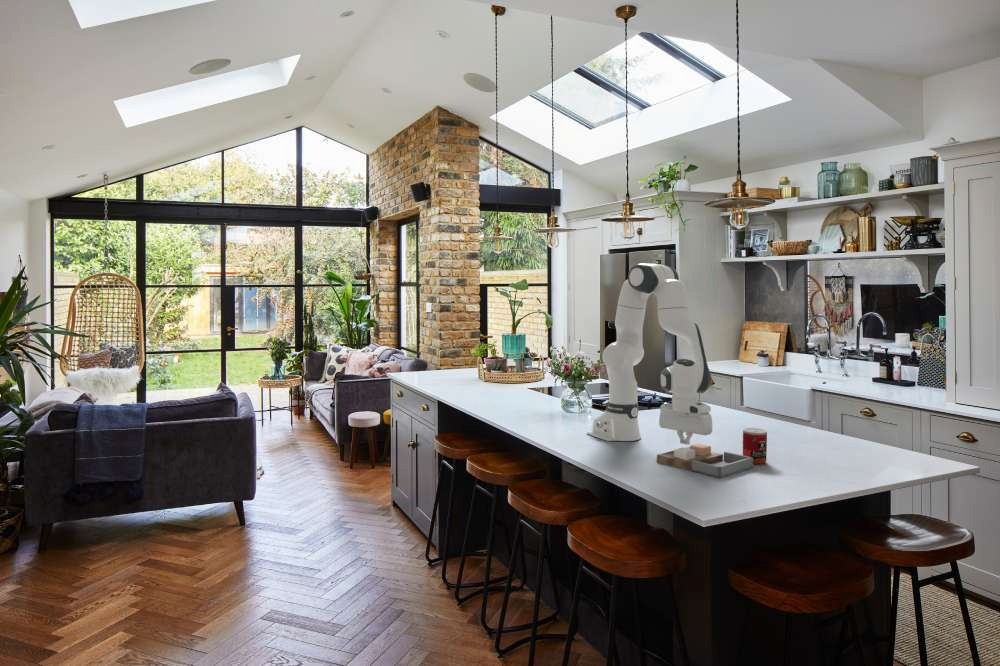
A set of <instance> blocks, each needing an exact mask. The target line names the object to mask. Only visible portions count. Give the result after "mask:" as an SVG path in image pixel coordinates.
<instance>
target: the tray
mask: <svg viewBox="0 0 1000 666" xmlns="http://www.w3.org/2000/svg"><path fill="white" fill-rule="evenodd" d="M753 468H754V464H753V457H748V456H743V454H738V453H733V452H730V451H724V452H723V461H719V462H716V463H712V464H707V463H703V462H699V461H695V460H692V471H691V472H694V473H698V474H702V475H705V476H710V477H714V478H718V479H722V478H725V477H728V476H731V475H736V474H738V473H741V472H743V471H747V470H750V469H753Z"/></svg>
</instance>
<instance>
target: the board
mask: <svg viewBox="0 0 1000 666" xmlns="http://www.w3.org/2000/svg"><path fill="white" fill-rule="evenodd" d="M685 448H688V449H690V446H687V447H685ZM692 460H695V461H699V462H703V463H707V464H712V463H716V462H719V461H723V460H724V453H719V452H713V451H711V453H710V454H706V455H703V456H702V455H697V454H695V458H692V459H688V460H685V459H680V458H676V457H674V450H670V451H667V452H663V453H658V454H657V455H656V462H657V463H660V464H664V465H668V466H672V467H676V468H680V469H684V470H689V471H691V472H693V471H692Z"/></svg>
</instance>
